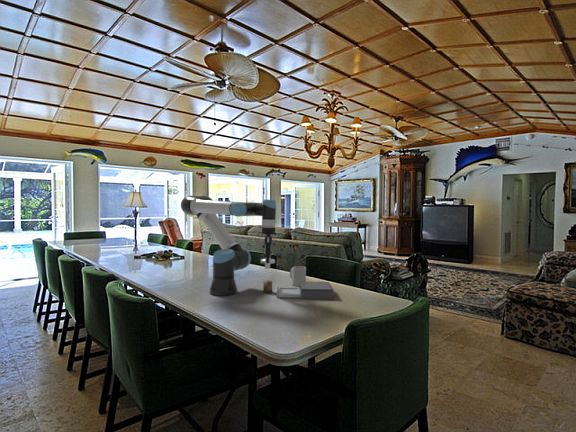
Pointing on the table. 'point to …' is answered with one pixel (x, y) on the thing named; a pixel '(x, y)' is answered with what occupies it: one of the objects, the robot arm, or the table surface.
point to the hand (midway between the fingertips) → (267, 267)
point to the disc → (270, 261)
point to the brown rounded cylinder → (267, 286)
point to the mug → (298, 275)
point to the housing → (316, 290)
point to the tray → (288, 291)
